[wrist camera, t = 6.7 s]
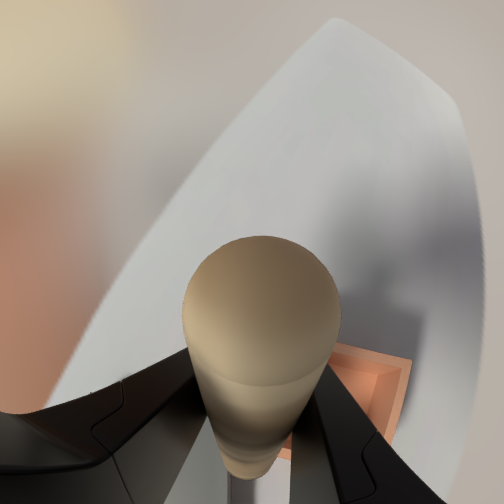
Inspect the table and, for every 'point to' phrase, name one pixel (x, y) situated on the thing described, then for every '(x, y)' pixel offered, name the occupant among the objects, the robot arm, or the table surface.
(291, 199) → the table surface
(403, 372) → the terracotta box
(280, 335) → the birch dowel
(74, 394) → the table surface
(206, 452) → the slate tray
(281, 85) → the table surface
